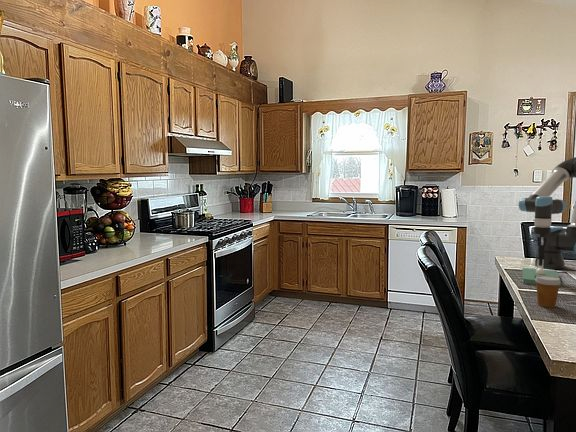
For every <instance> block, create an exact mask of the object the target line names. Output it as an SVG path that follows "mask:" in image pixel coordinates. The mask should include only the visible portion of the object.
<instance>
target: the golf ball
mask: <svg viewBox="0 0 576 432" xmlns="http://www.w3.org/2000/svg"><path fill="white" fill-rule="evenodd" d="M536 269H537V268H536ZM544 270H545V268H543V269H542V268H538V269H537V270H536V274H537V275H544V274H545V271H544Z"/></svg>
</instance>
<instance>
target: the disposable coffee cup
mask: <svg viewBox="0 0 576 432" xmlns="http://www.w3.org/2000/svg"><path fill="white" fill-rule="evenodd" d="M535 281H536V285H535V286H536V296H537V305H538V306H539V307H542V306H544V307H543V308H549V307H551V308H555V307H556V305H557V299H558V296H559V295H558V294H559V289H560V287H559V285H560V283H561V284H562V280H561V279H560V277H559V278H558V277H555V276H548V275H538V276H536V279H535Z"/></svg>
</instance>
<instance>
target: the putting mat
mask: <svg viewBox="0 0 576 432" xmlns="http://www.w3.org/2000/svg"><path fill="white" fill-rule="evenodd" d="M536 270H537V268H527V267H522V271H521V272H522V283H523V285H531V286H536V281H535V279H536V276H538V275H537V274H536ZM544 271H545V274H544V275H548V276H555V277H558V278H560V276H559V274H558V271H557V270H555V269H544ZM561 287H562V282H561V283H560V285H559V288H561Z"/></svg>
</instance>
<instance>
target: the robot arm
mask: <svg viewBox="0 0 576 432" xmlns="http://www.w3.org/2000/svg"><path fill="white" fill-rule="evenodd" d="M573 178H576V157H575V156H574V157H570V158H568V159H566V160H564V161H561V162H560V163H558V164H557V165H556V166H555V167H554V168H553V169H552V170H551V174H549V176H548V177H547V178H546V179H545V180H544V181H543V182H541V184H540V185H539V186H538V187H537V188H536V189H535V190H534V191H533V192H532V193H531V194H530V195H529V196H528V197H521V199H519V201H518V208H519V210H520V211H521V212H527V213H534V219H533V220H532V221H533V222H534V227H533V233H534V234H535V235H538V236H537V238H536V239H537V256H536V258H535V260H534V266H536V269H538V268H542V269H548V270H561V269H562V270H563V269H565V267H566V262H565V260H564V257H563V251H564V252H569V253H570V252H572V253H576V200H575V202H574V208H573V212H572V215H571V216H572V217H571V220H570V221H571V222H570V224H568V225H566V229H564V227H563V226H552V220H553V219H552V215H558V214H559V215H560V214H562V213H565V211H566V210H567V203H566V201H564V200H563V199H558V198H556V199H553V197H552V196H551V195H553V193H554V192H555V191H556V190H557V189H559V187H560V186H561V185H563V183H564V182H567V181H568V180H569V179H573Z"/></svg>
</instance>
